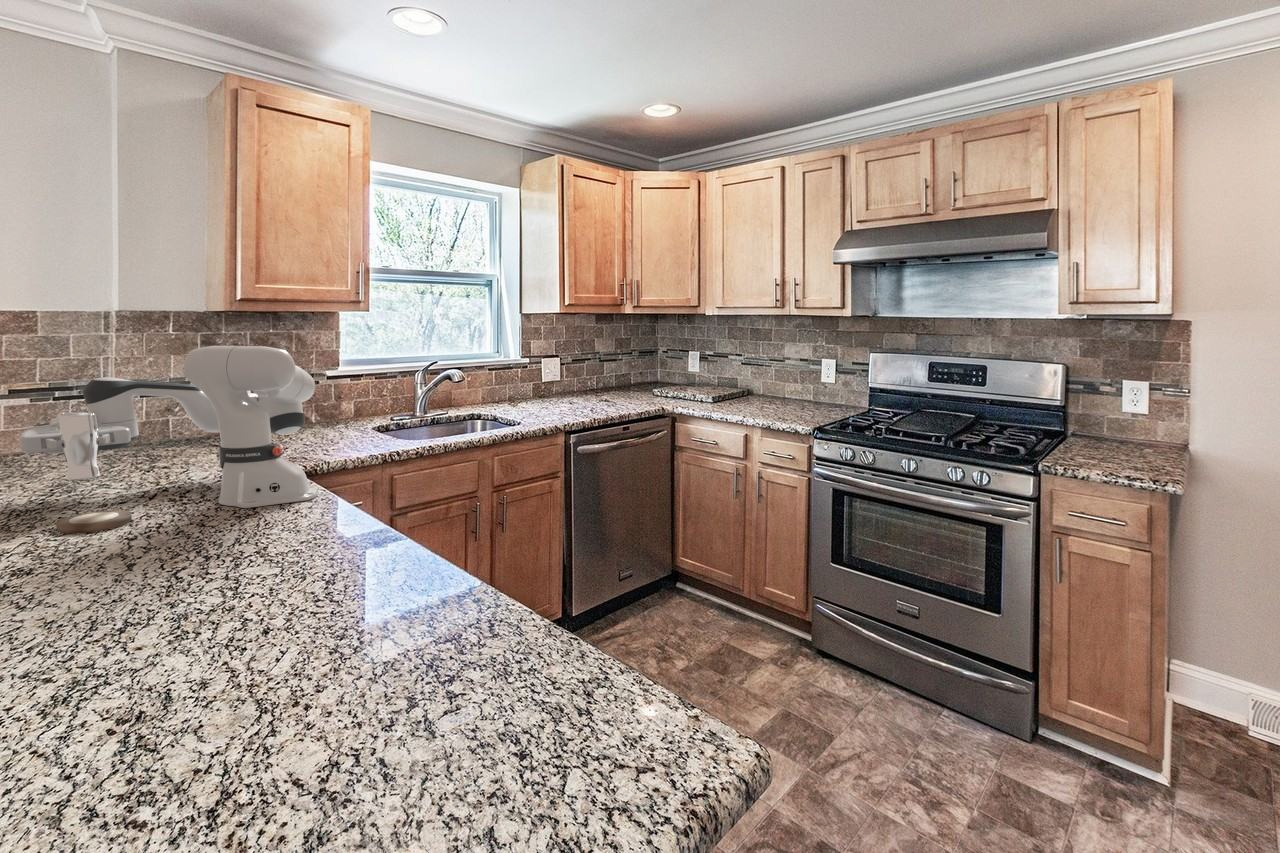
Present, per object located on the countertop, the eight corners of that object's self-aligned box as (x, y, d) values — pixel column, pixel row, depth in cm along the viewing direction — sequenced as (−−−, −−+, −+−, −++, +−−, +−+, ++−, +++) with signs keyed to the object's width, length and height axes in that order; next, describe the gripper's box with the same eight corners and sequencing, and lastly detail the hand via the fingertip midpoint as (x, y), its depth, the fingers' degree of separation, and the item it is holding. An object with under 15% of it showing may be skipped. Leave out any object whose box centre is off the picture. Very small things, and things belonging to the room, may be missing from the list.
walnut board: (138, 514, 158) (137, 507, 158) (122, 529, 146) (121, 522, 146) (69, 520, 153) (68, 512, 153) (46, 536, 141) (45, 528, 141)
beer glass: (80, 481, 154) (74, 416, 152) (56, 479, 155) (49, 414, 153) (110, 475, 161) (104, 412, 158) (86, 473, 162) (80, 411, 160)
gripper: (128, 442, 174) (137, 450, 164) (21, 453, 160) (23, 462, 150) (126, 418, 173) (134, 425, 163) (18, 426, 159) (19, 434, 149)
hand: (80, 443), depth 156 cm, fingers closed on beer glass, 6 cm apart
